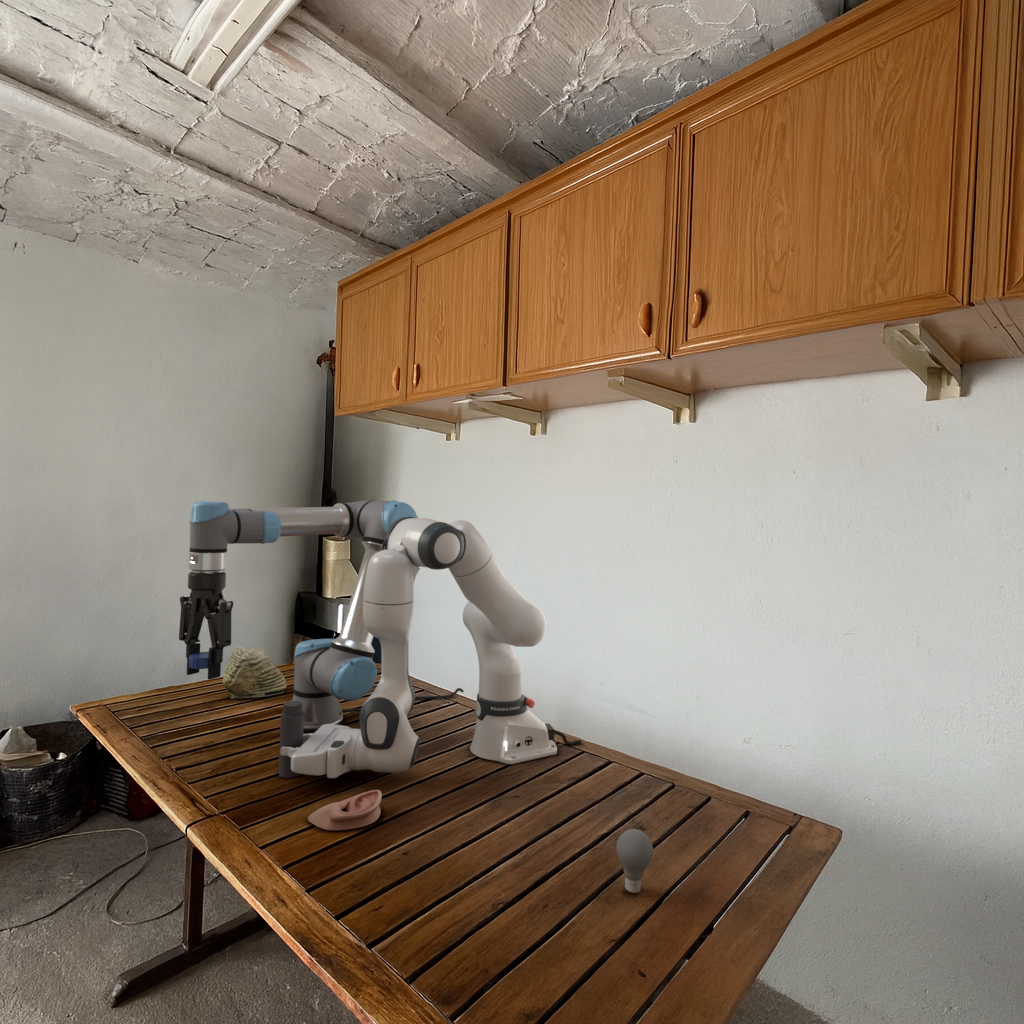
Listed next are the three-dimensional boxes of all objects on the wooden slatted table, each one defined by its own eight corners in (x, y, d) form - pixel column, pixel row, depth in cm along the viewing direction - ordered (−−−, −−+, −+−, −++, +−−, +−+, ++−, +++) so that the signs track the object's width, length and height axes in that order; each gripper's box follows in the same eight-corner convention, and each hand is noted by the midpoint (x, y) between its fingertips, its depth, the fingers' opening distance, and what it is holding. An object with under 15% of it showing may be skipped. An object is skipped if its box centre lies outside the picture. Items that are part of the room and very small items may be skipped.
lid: (200, 661, 143) (200, 650, 143) (223, 663, 142) (224, 653, 142) (182, 667, 138) (183, 656, 138) (206, 670, 136) (207, 659, 136)
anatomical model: (300, 805, 121) (329, 780, 132) (299, 826, 121) (328, 798, 133) (364, 815, 119) (388, 788, 130) (363, 836, 119) (387, 807, 130)
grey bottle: (303, 775, 143) (306, 705, 143) (280, 779, 141) (283, 708, 141) (299, 767, 148) (301, 698, 147) (276, 770, 145) (279, 701, 145)
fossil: (218, 695, 195) (220, 647, 195) (278, 685, 208) (279, 640, 207) (228, 703, 189) (230, 653, 188) (289, 692, 201) (290, 645, 201)
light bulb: (610, 879, 108) (613, 822, 108) (644, 879, 109) (647, 822, 109) (619, 902, 102) (622, 840, 102) (655, 901, 103) (658, 840, 103)
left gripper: (162, 568, 140) (158, 673, 140) (225, 576, 133) (220, 686, 133) (191, 566, 147) (187, 665, 147) (252, 573, 139) (248, 677, 140)
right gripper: (361, 719, 154) (305, 715, 154) (332, 752, 133) (268, 748, 134) (360, 745, 154) (304, 741, 155) (331, 782, 133) (267, 777, 134)
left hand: (203, 675), depth 140 cm, fingers closed on lid, 6 cm apart
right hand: (287, 744), depth 144 cm, fingers closed on grey bottle, 5 cm apart
